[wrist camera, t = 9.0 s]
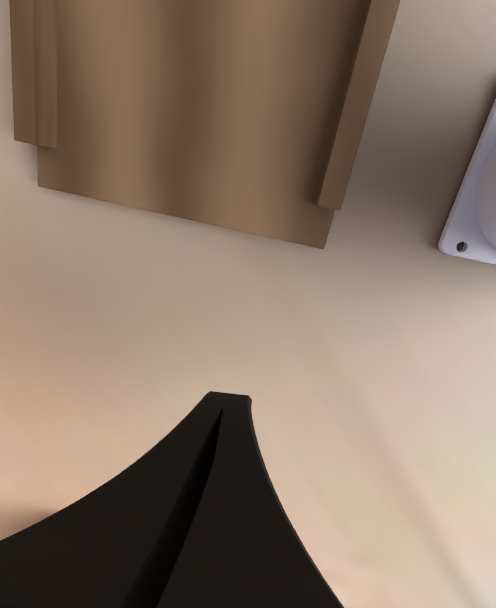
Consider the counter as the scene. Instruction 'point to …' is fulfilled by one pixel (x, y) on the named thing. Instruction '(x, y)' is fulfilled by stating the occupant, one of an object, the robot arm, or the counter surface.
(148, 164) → the track
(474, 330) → the counter surface
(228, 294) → the counter surface
